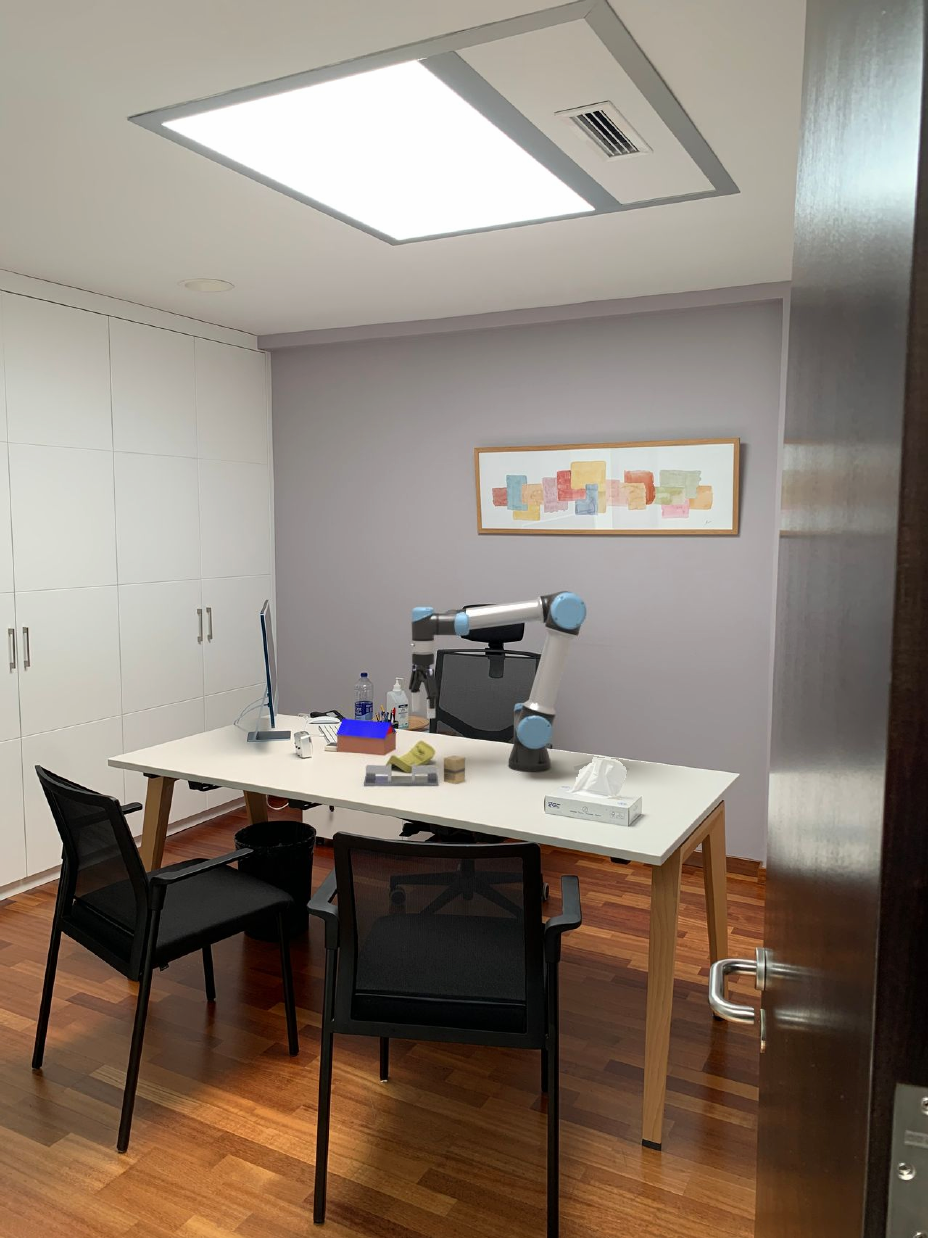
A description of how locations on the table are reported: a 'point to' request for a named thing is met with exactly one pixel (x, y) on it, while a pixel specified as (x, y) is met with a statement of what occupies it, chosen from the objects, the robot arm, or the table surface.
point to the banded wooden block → (454, 769)
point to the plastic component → (413, 757)
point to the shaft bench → (401, 780)
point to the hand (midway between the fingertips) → (423, 714)
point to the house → (366, 737)
